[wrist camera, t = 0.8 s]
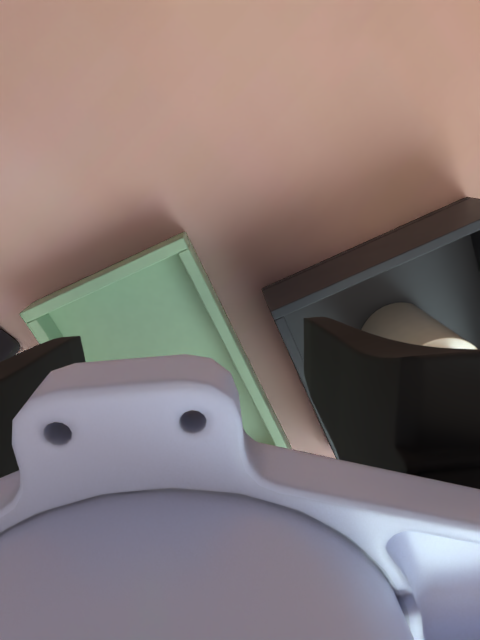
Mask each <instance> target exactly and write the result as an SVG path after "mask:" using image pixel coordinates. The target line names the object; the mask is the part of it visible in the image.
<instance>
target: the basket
mask: <svg viewBox="0 0 480 640" xmlns="http://www.w3.org/2000/svg"><path fill="white" fill-rule="evenodd" d="M262 292H263V294H264V297H265V299H266V302H267V304H268V307H269V309H270V312H271V314H272V316H273V319H274V321H275V323H276V325H277V328H278V330H279V332H280V334H281V336H282V339H283V341H284V343H285V345H286V348H287V350H288V352H289V354H290V357H291V359H292V361H293V363H294V366H295V368H296V370H297V372H298V374H299V377H300V379H301V381H302V383H303V386H304V388H305V390H306V392H307V395H308V397H309V399H310V401H311V403H312V406H313V408H314V410H315V412H316V415H317V417H318V419H319V421H320V424H321V426H322V428H323V430H324V432H325V435H326V437H327V439H328V441H329V444H330V446H331V448H332V450H333V453H334V455H335V457H336V459H339V456H338V454H337V451H336V449H335V446H334V444H333V442H332V440H331V438H330V436H329V434H328V432H327V430H326V428H325V426H324V424H323V422H322V420H321V418H320V415H319V413H318V411H317V409H316V407H315V405H314V403H313V401H312V399H311V396H310V393H309V390H308V387H307V383H306V379H305V376H304V318H311V317H328V318H331V319H334V320H336V321H339V322H341V323H344V324H347V325H349V326H352V327H354V328H357V329H359V330H362V327H363V325H364V324H365V322H366V321H367V319H368V318H369V317H370V316H371V315H372V314H373V313H374V312H375V311H377V310H378V309H380V308H382V307H384V306H386V305H389V304H393V303H410V304H414V305H416V306H418V307H420V308H421V309H423V310H424V311H426V312H427V313H428V314H430V315H431V316H433V317H434V318H436V319H437V320H439V321H440V322H441V323H443V324H444V325H446V326H447V327H449V328H450V329H452V330H453V331H454V332H456V333H457V334H459V335H460V336H462V337H463V338H464V339H466V340H467V341H469V342H470V343H472V344H473V345H474V346H475V347H476V348H478V349H480V199H477V198H470V197H466V198H463V199H461V200H459V201H457V202H454V203H452V204H450V205H448V206H445V207H443V208H441V209H439V210H437V211H434V212H432V213H430V214H428V215H425V216H423V217H421V218H419V219H416V220H414V221H412V222H410V223H407V224H405V225H403V226H401V227H398V228H396V229H394V230H392V231H390V232H387V233H385V234H383V235H381V236H378V237H376V238H374V239H372V240H369V241H367V242H365V243H363V244H360V245H358V246H356V247H354V248H352V249H349V250H347V251H345V252H343V253H340V254H338V255H336V256H334V257H331V258H329V259H327V260H325V261H322V262H320V263H318V264H316V265H313V266H311V267H309V268H307V269H305V270H302V271H300V272H298V273H296V274H293V275H291V276H289V277H287V278H284V279H282V280H280V281H278V282H275V283H273V284H271V285H269V286H267V287H264V288H262ZM339 460H340V459H339Z"/></svg>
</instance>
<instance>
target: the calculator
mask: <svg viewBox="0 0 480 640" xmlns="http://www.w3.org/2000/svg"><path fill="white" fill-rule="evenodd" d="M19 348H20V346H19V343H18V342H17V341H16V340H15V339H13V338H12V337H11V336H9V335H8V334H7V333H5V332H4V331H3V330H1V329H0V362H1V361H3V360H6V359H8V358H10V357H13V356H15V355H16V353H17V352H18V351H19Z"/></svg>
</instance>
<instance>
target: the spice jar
mask: <svg viewBox="0 0 480 640" xmlns="http://www.w3.org/2000/svg"><path fill="white" fill-rule="evenodd" d="M362 331H365V332H368V333H371V334H374V335H377V336H380V337H384V338H387V339H391V340H396V341H400V342H405V343H409V344H415V345H422V346H430V347H439V348H452V349H478V348H476V347H475V346H474V345H473V344H472V343H470V342H469V341H467V340H466V339H464V338H463V337H462V336H460V335H459V334H457V333H456V332H454V331H453V330H452V329H450V328H449V327H447V326H446V325H444V324H443V323H441V322H440V321H439V320H437V319H436V318H434V317H433V316H431V315H430V314H428V313H427V312H426V311H424V310H423V309H421V308H420V307H418V306H416V305H414V304H410V303H393V304H389V305H386V306H384V307H382V308H380V309H378V310H377V311H375V312H374V313H373V314H372V315H371V316H370V317H369V318H368V319H367V321H366V322H365V324H364V325H363V327H362Z"/></svg>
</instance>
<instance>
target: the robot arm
mask: <svg viewBox="0 0 480 640" xmlns="http://www.w3.org/2000/svg"><path fill="white" fill-rule="evenodd" d="M304 376H305V379H306V383H307V387H308V390H309V393H310V396H311V399H312V401H313V403H314V405H315V407H316V409H317V411H318V413H319V415H320V418H321V420H322V422H323V424H324V426H325V428H326V430H327V432H328V434H329V436H330V438H331V440H332V442H333V444H334V446H335V449H336V451H337V454H338V456H339V459H340V460H339V459H334V458H330V457H325V456H320V455H316V454H311V453H306V452H301V451H297V450H292V449H287V448H283V447H278V446H273V445H268V444H264V443H259V442H256V441H255V440H253V439H252V438H251V437H250V436H249V435H247V434H246V432H245V430H244V429H243V424H242V416H241V408H240V400H239V393H238V390H237V388H236V385H235V383H234V380H233V377H232V375H231V373H230V372H229V371H228V370H226V369H225V368H224V367H222V366H221V365H220V364H219V363H217V362H216V361H215V360H213V359H212V358H208V357H201V356H195V355H188V354H181V355H169V356H156V357H144V358H132V359H120V360H107V361H95V362H86V361H85V356H84V351H83V346H82V342H81V337H80V336H71V337H60V338H55V339H52V340H49V341H47V342H44V343H42V344H39V345H37V346H35V347H33V348H30V349H28V350H26V351H24V352H22V353H19V354H17V355H15V356H13V357H10V358H8V359H6V360H3V361H1V362H0V640H480V349H452V348H439V347H430V346H422V345H415V344H409V343H405V342H400V341H396V340H391V339H387V338H384V337H380V336H377V335H374V334H371V333H368V332H365V331H362V330H359V329H357V328H354V327H352V326H349V325H347V324H344V323H341V322H339V321H336V320H334V319H331V318H328V317H311V318H304Z"/></svg>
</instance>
